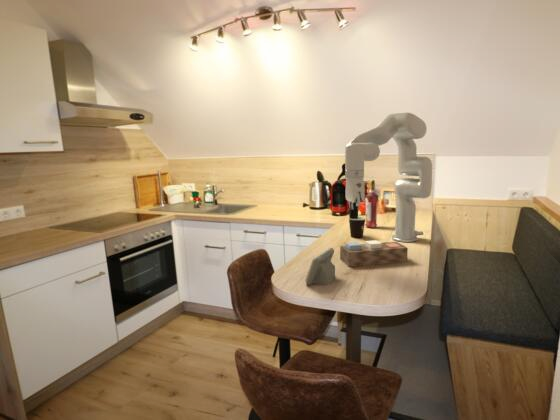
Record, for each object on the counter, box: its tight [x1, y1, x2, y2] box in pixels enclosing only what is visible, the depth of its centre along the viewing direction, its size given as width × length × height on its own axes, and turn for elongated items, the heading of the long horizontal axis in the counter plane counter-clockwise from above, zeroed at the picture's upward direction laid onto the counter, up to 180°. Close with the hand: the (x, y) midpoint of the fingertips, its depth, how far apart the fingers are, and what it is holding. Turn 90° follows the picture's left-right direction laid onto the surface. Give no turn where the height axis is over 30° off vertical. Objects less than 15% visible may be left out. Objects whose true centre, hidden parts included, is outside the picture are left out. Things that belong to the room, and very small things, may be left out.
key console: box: [339, 241, 409, 267], centre depth 154 cm, size 26×10×6 cm, turn 100°
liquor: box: [364, 179, 379, 229], centre depth 212 cm, size 7×7×28 cm
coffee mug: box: [348, 216, 366, 239], centre depth 194 cm, size 12×9×10 cm
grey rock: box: [304, 247, 336, 285], centre depth 133 cm, size 16×9×11 cm, turn 139°
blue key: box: [345, 241, 362, 251], centre depth 152 cm, size 5×5×4 cm
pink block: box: [385, 243, 401, 248], centre depth 155 cm, size 5×5×4 cm
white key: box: [365, 239, 383, 249], centre depth 153 cm, size 5×5×4 cm
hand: (353, 218), depth 149 cm, fingers closed
